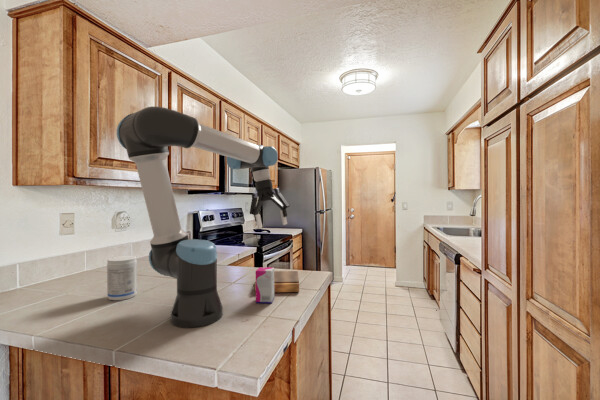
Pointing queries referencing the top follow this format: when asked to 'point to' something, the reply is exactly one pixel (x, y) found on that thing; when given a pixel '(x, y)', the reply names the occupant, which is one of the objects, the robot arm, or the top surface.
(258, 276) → the supplement box
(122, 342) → the top surface
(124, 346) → the top surface
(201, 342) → the top surface
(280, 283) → the dock
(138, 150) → the robot arm
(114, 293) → the supplement tub
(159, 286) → the top surface
